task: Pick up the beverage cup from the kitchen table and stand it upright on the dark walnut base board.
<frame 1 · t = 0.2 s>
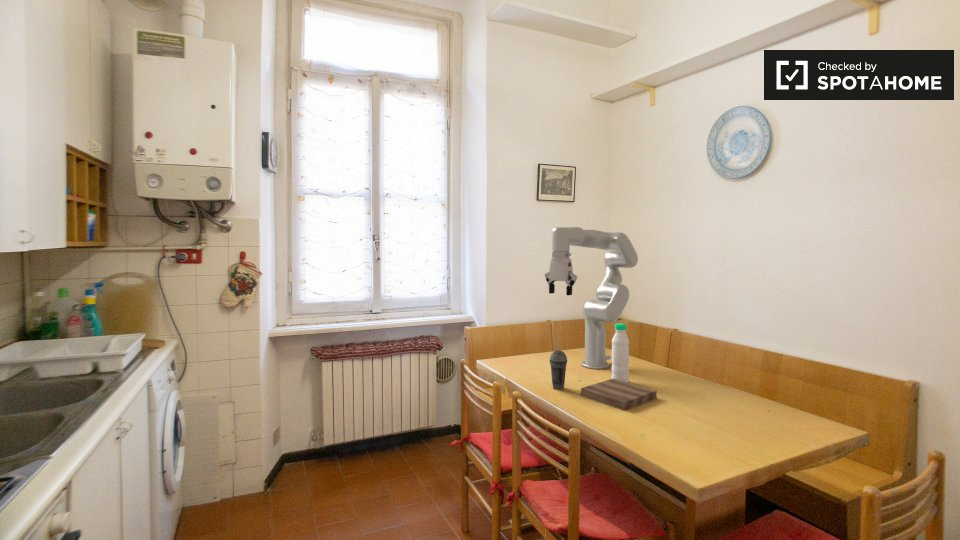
hand: (560, 294, 204), 37 cm above the table, tool pointing down, fingers open, 9 cm apart
walnut base board: (618, 397, 178), on the table
water bottle: (620, 382, 197), on the table
beverage cup: (558, 388, 190), on the table
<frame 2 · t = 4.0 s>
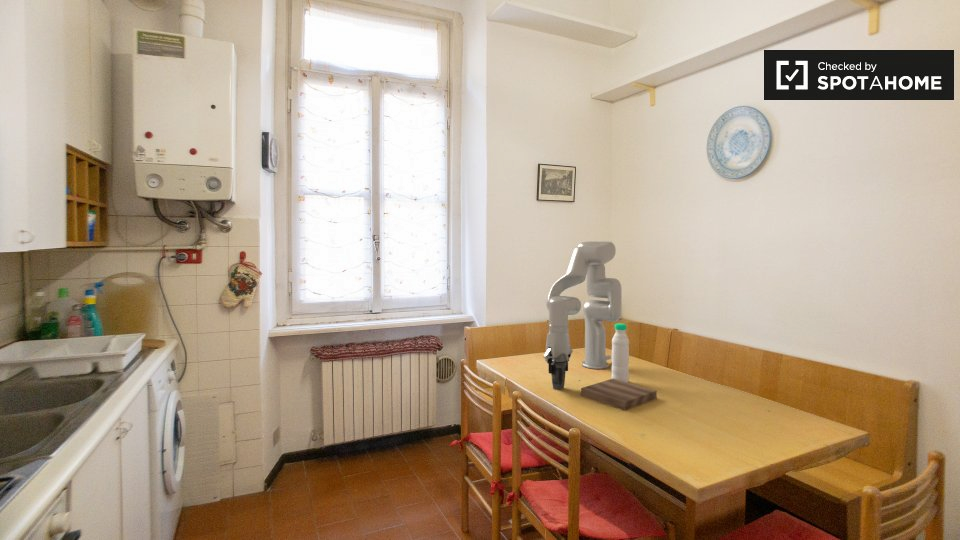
hand: (558, 371, 189), 7 cm above the table, tool pointing down, fingers closed on beverage cup, 6 cm apart
beverage cup: (558, 388, 190), on the table, touching gripper
everything else where it was.
when the fingers open (11 cm above the table, at t = 13.2 s): beverage cup drops 1 cm, resting on walnut base board.
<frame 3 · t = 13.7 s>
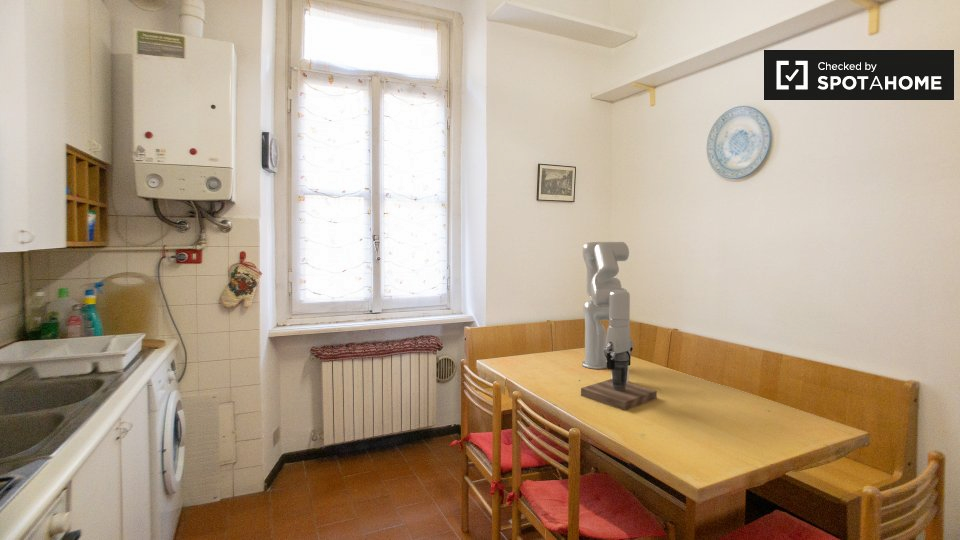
hand: (618, 366, 177), 12 cm above the table, tool pointing down, fingers open, 9 cm apart
beverage cup: (619, 389, 179), point 3 cm above the table, touching walnut base board
everything else where it was.
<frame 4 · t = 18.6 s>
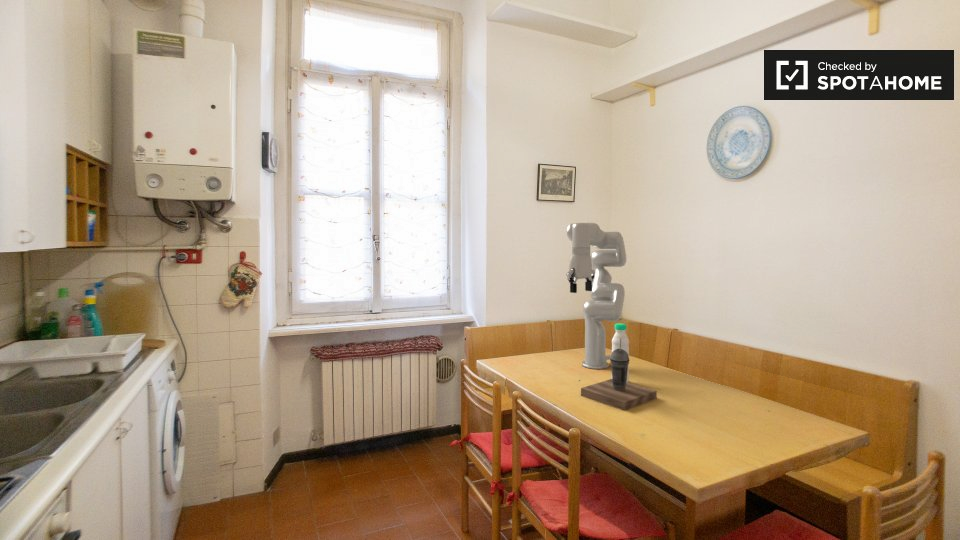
hand: (581, 291, 198), 38 cm above the table, tool pointing down, fingers open, 9 cm apart
nothing on the table moved.
at the end: beverage cup inside the target area on the walnut base board (0.8 cm from its centre), point 2.8 cm above the walnut base board's base; beverage cup tilted 0°; beverage cup touching walnut base board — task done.
